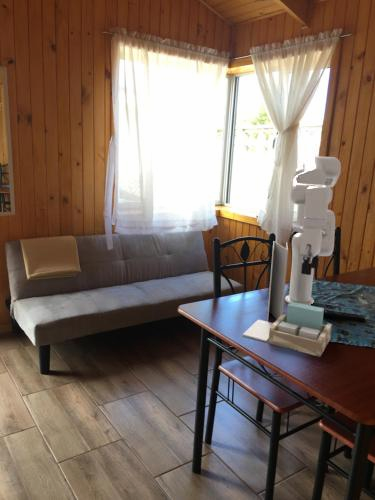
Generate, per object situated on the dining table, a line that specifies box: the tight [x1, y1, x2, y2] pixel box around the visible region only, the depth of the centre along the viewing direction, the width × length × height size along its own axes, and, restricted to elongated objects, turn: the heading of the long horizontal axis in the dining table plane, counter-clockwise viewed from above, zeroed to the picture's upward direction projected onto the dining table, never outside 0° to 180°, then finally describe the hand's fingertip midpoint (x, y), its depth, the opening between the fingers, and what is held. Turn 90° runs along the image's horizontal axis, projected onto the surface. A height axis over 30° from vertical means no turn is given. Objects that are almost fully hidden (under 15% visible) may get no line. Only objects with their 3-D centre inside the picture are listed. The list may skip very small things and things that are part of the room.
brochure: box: [266, 240, 289, 322], centre depth 166 cm, size 14×6×30 cm, turn 168°
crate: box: [267, 312, 333, 358], centre depth 148 cm, size 16×18×6 cm
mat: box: [242, 319, 274, 343], centre depth 156 cm, size 16×9×1 cm, turn 150°
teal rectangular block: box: [286, 302, 325, 331], centre depth 151 cm, size 4×12×12 cm, turn 60°
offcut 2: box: [299, 326, 320, 340], centre depth 143 cm, size 4×6×6 cm, turn 60°
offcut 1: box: [278, 322, 298, 336], centre depth 147 cm, size 4×6×6 cm, turn 60°
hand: (309, 270), depth 146 cm, fingers open, 9 cm apart
